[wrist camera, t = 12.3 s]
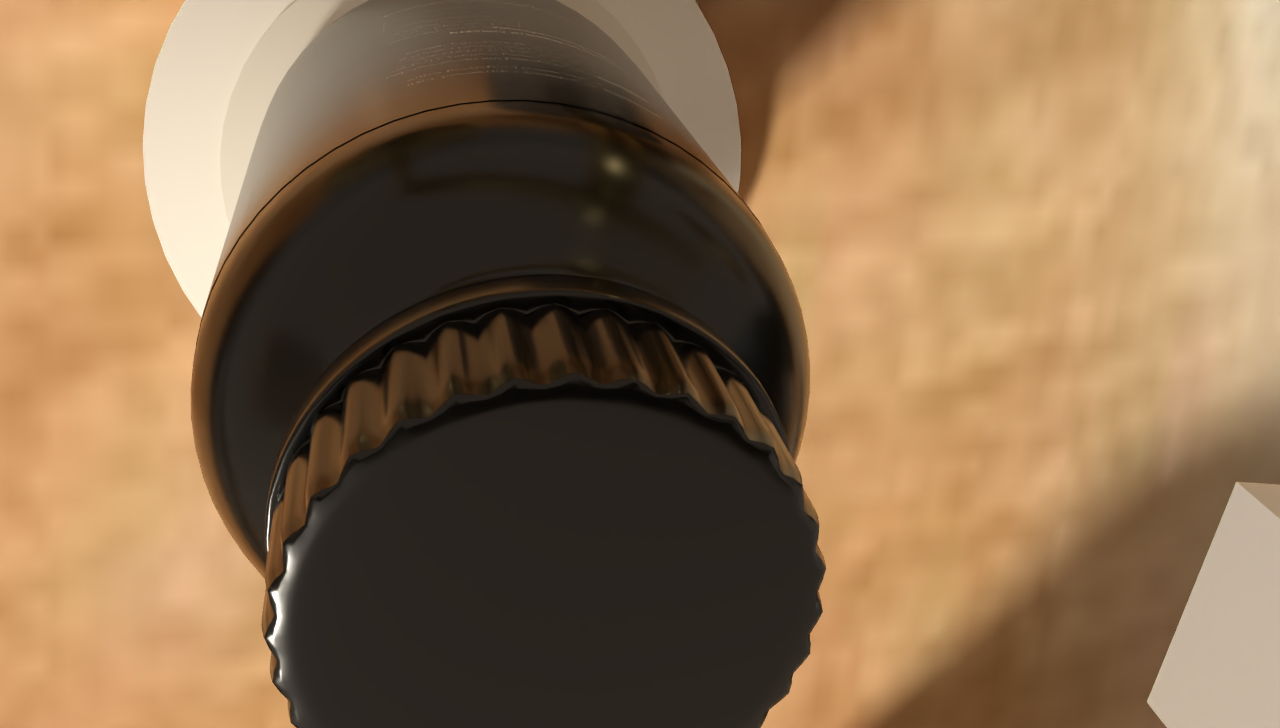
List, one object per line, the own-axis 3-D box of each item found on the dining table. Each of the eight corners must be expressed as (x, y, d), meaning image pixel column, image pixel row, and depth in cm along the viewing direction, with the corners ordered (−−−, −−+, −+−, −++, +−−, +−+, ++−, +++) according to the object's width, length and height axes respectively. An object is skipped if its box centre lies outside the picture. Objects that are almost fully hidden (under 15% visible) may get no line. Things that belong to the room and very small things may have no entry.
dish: (503, -280, 19) (511, -283, 18) (821, 204, 24) (844, 227, 22) (22, 107, 20) (-2, 129, 19) (412, 497, 25) (414, 534, 24)
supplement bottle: (172, 215, 20) (-71, 717, 9) (429, -124, 19) (484, 23, 8) (500, 431, 23) (597, 1004, 12) (746, 153, 21) (1098, 532, 11)
